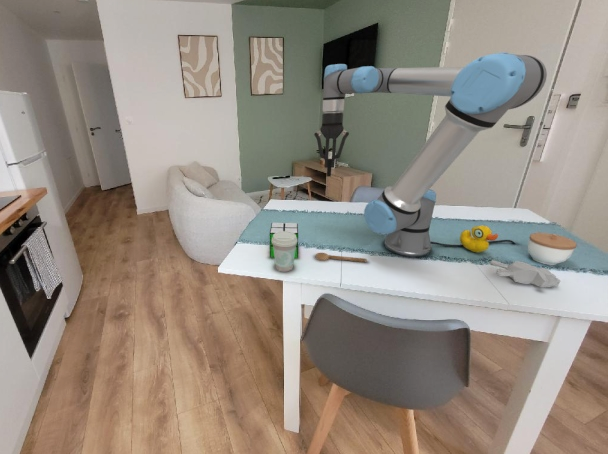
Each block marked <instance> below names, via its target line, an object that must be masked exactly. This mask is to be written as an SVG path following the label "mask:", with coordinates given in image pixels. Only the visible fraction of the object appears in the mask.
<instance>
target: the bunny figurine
mask: <svg viewBox="0 0 608 454" xmlns="http://www.w3.org/2000/svg"><path fill="white" fill-rule="evenodd" d="M489 264H490V265H491V266H495V267H498V268H497V269H496V274H497V275H498V276H501V277H510V278H511V279H512V280H513V282H515V283H519V284H523V285H530V284H532V285H534V286H537V287H539V288H552V287H554V286H559V285H560V283H561V280H560V279H559V277H557V276H556V274H554V273H552V272H551V271H550V270H549V269H547V268H545V267H536V266H534V265H533V264H530V263H527V262H524V261H519V260H518V261H517V260H515V261H513V262H511V264H505V263H503V262H500V261H498V260H494V259H493V260H490V261H489Z"/></svg>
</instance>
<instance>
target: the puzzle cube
mask: <svg viewBox="0 0 608 454" xmlns="http://www.w3.org/2000/svg"><path fill="white" fill-rule="evenodd" d="M280 231H288V232H292V233H294V234H295V235H296V238H297V241H298V242H297V244H296V250H295V257H294V259H298V258H299V223H298V222H271V224H270V229H269V257H270V258H272V259H275V257H274V250H273V243H272V238H273V235H274V234H275V233H277V232H280Z"/></svg>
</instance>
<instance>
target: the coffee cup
mask: <svg viewBox="0 0 608 454" xmlns="http://www.w3.org/2000/svg"><path fill="white" fill-rule="evenodd" d="M297 242H298V243H299V240H298V241H297V238H296V235H295V234H294V233H292V232H288V231H280V232H277V233H275V234H274V235H273V238H272V243H273V250H274V257H275V258H274V263H275V268H276V270H277V271H279V272H283V273H285V272H291V271H292V270H293V268H294V262H295V258H294V257H295V250H296V244H297Z"/></svg>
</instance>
